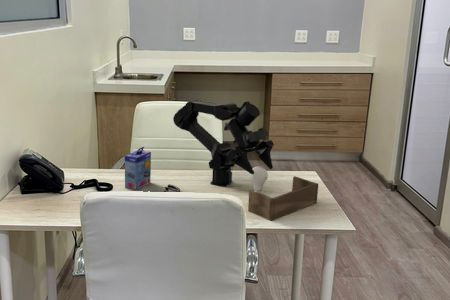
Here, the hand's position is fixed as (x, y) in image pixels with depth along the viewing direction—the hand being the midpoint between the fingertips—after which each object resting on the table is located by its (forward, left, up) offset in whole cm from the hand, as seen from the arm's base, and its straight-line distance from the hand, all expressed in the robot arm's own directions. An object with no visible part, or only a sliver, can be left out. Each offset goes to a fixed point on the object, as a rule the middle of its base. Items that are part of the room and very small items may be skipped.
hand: (262, 171), depth 154 cm
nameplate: (-27, -20, -10) cm, 35 cm away
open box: (+9, -3, -10) cm, 14 cm away
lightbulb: (-2, +1, -10) cm, 10 cm away
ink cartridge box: (-44, -11, -10) cm, 47 cm away
